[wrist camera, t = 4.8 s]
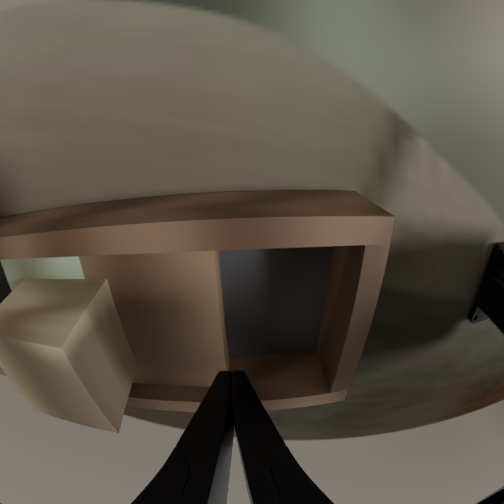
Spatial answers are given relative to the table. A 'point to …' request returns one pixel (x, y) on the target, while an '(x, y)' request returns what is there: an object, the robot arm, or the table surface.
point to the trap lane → (221, 286)
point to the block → (67, 350)
